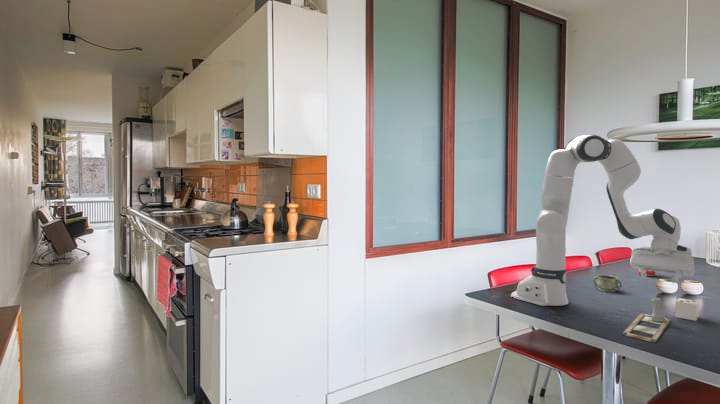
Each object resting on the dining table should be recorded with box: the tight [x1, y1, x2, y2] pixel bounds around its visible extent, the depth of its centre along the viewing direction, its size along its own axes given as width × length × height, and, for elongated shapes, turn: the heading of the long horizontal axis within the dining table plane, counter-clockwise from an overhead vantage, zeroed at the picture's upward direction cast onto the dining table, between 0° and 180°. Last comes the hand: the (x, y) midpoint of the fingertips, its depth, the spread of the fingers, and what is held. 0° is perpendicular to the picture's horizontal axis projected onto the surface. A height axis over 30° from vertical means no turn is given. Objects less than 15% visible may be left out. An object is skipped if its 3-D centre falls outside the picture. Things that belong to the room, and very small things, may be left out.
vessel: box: [592, 274, 623, 293], centre depth 192 cm, size 12×9×6 cm
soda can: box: [637, 246, 657, 277], centre depth 221 cm, size 8×8×15 cm
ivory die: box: [675, 297, 700, 322], centre depth 154 cm, size 6×6×6 cm
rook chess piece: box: [650, 297, 666, 322], centre depth 148 cm, size 4×4×8 cm
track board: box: [622, 313, 671, 343], centre depth 142 cm, size 9×28×1 cm, turn 135°
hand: (658, 279), depth 155 cm, fingers open, 8 cm apart
